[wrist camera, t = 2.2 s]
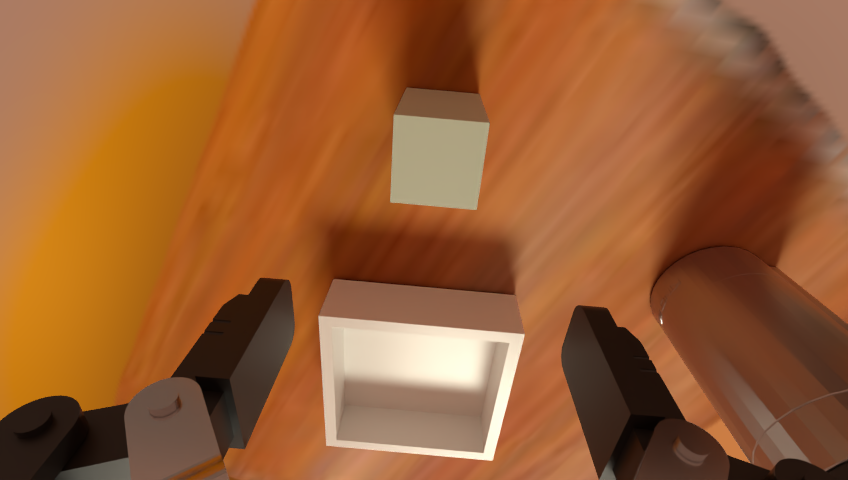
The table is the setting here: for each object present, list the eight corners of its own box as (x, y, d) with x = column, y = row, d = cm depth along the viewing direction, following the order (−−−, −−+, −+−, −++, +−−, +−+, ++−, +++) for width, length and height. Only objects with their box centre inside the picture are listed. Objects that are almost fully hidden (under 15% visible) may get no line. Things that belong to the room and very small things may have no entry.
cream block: (479, 93, 29) (489, 122, 22) (469, 163, 31) (476, 209, 24) (406, 87, 29) (393, 114, 22) (402, 157, 31) (390, 202, 24)
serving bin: (515, 295, 37) (524, 334, 33) (488, 416, 45) (492, 460, 40) (333, 278, 37) (318, 315, 33) (338, 402, 45) (326, 445, 40)
